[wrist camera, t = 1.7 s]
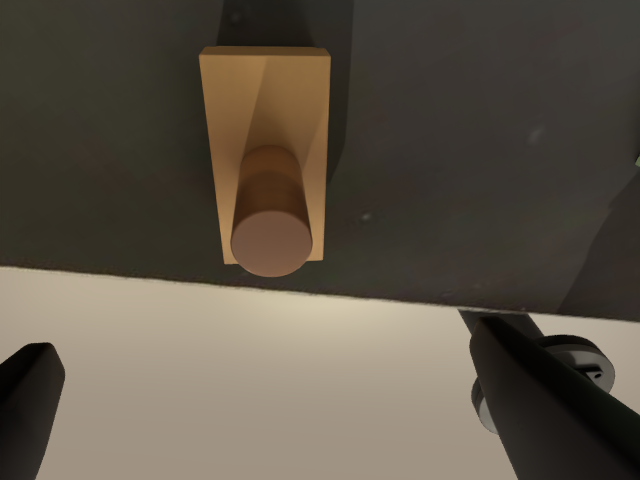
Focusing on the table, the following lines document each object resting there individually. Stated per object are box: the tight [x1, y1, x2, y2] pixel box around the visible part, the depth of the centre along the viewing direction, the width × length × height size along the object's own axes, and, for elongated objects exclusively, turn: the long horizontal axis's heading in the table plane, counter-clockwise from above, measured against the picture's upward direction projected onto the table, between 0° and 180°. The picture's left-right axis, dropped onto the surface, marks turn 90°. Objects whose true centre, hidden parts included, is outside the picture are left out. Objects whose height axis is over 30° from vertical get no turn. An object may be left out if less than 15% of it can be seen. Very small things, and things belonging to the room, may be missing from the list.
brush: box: [199, 46, 331, 277], centre depth 16 cm, size 9×4×8 cm, turn 178°
